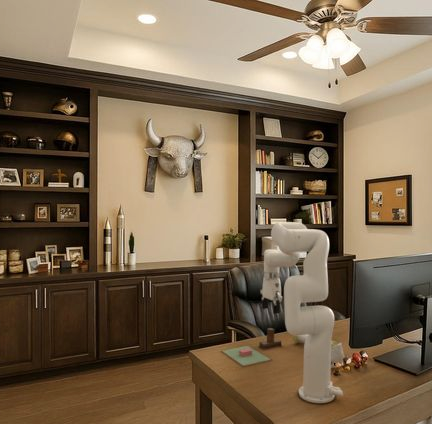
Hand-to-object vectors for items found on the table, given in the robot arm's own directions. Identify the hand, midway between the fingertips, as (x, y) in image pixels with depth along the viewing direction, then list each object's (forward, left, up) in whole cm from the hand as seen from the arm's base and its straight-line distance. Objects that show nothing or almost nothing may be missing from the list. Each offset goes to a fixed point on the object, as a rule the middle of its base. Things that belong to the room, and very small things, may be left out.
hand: (270, 310), depth 187 cm
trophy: (-22, -2, -18) cm, 28 cm away
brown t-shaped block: (0, 0, -17) cm, 17 cm away
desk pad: (+6, +16, -17) cm, 24 cm away
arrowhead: (-34, +12, -18) cm, 40 cm away
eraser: (+6, +16, -17) cm, 24 cm away
